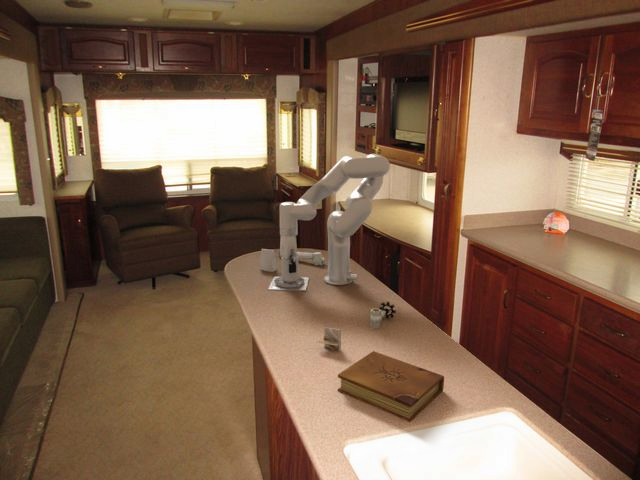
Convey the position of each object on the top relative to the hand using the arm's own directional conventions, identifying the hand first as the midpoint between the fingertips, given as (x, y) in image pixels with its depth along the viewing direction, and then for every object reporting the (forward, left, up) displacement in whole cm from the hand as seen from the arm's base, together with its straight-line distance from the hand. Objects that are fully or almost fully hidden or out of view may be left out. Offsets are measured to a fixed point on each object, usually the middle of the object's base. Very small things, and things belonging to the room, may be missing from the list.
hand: (289, 269), depth 226 cm
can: (0, 0, -5) cm, 5 cm away
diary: (-66, +65, -7) cm, 92 cm away
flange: (0, 0, -7) cm, 7 cm away
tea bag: (+18, -13, -7) cm, 23 cm away
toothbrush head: (+10, -32, -7) cm, 34 cm away
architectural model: (-41, +49, -7) cm, 64 cm away
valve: (-49, +23, -7) cm, 55 cm away
